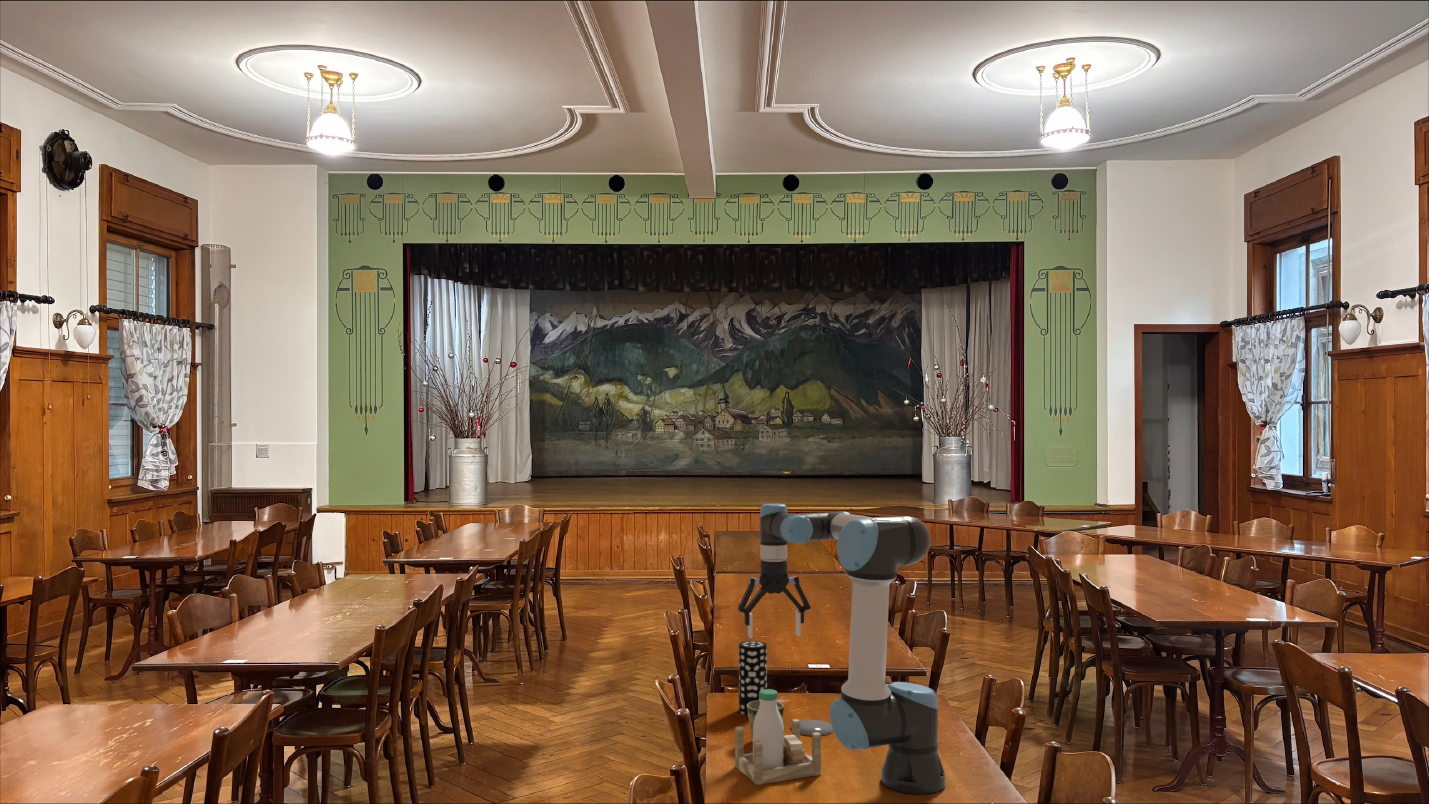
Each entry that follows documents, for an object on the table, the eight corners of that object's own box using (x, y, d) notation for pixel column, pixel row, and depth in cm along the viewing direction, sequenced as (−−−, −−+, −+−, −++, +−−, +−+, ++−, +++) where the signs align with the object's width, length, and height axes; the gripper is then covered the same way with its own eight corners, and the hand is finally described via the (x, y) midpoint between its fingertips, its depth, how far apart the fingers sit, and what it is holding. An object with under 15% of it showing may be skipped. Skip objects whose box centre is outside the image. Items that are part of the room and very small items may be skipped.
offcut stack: (806, 773, 237) (806, 743, 237) (791, 775, 235) (791, 745, 235) (791, 761, 245) (791, 732, 245) (776, 764, 243) (776, 734, 243)
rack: (820, 774, 236) (820, 733, 236) (756, 785, 229) (756, 743, 229) (797, 757, 248) (797, 718, 248) (735, 766, 241) (735, 726, 241)
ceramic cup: (754, 734, 266) (754, 697, 266) (788, 738, 262) (788, 702, 262) (737, 749, 254) (737, 711, 254) (773, 754, 250) (773, 715, 250)
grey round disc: (841, 732, 267) (841, 730, 267) (803, 738, 262) (803, 735, 262) (821, 719, 278) (821, 717, 278) (784, 725, 273) (784, 722, 273)
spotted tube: (754, 705, 292) (753, 639, 292) (772, 711, 286) (772, 644, 286) (733, 710, 287) (733, 643, 287) (751, 717, 280) (751, 648, 281)
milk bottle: (781, 779, 233) (781, 696, 233) (750, 776, 234) (750, 694, 235) (785, 767, 240) (785, 687, 241) (755, 765, 242) (755, 686, 242)
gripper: (813, 556, 273) (814, 631, 272) (727, 558, 269) (727, 634, 269) (820, 560, 265) (821, 637, 265) (732, 562, 262) (732, 640, 261)
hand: (774, 636), depth 267 cm, fingers open, 13 cm apart
